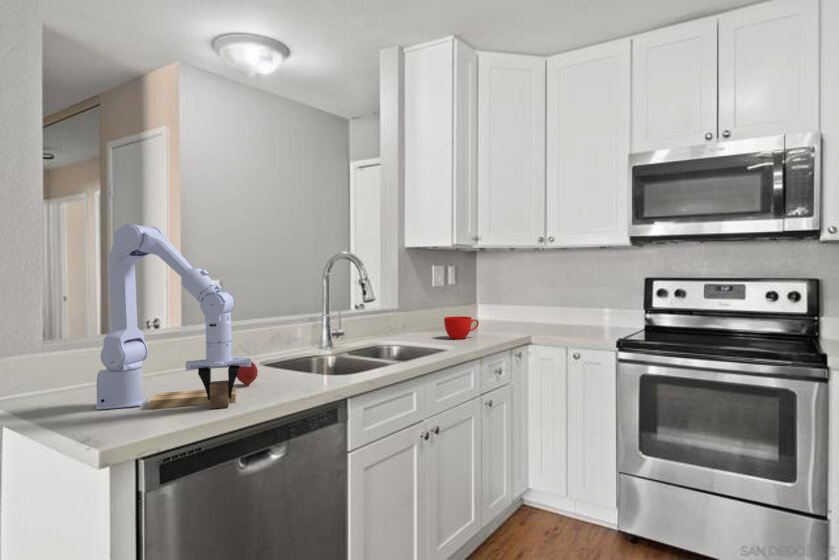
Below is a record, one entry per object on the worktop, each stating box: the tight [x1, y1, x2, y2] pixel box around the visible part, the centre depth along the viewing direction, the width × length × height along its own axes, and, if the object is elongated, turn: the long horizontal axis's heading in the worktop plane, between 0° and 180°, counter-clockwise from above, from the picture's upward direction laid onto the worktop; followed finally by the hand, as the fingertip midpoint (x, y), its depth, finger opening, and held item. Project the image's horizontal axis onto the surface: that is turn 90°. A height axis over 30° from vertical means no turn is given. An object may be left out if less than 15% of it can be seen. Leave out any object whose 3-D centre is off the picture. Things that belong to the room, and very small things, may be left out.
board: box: [149, 386, 238, 410], centre depth 128 cm, size 19×8×2 cm, turn 108°
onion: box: [236, 360, 258, 387], centre depth 146 cm, size 6×6×8 cm
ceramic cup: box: [443, 316, 479, 340], centre depth 244 cm, size 13×17×10 cm
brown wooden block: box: [209, 380, 230, 410], centre depth 125 cm, size 4×9×6 cm, turn 18°
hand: (219, 398), depth 123 cm, fingers closed on brown wooden block, 4 cm apart
